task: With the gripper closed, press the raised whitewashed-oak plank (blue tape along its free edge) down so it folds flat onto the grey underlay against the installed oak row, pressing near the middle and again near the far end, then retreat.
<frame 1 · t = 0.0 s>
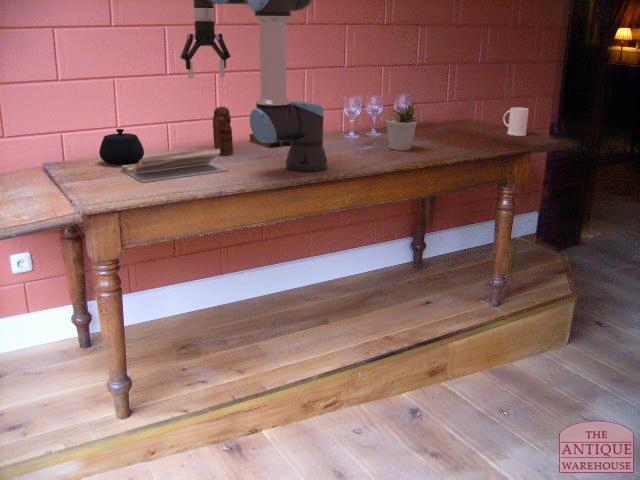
hand: (206, 77, 258), 28 cm above the table, fingers open, 13 cm apart
plank: (177, 160, 226), point 4 cm above the table, hinge at 30.0°
potted plant: (401, 149, 271), on the table
wooden figurine: (223, 153, 259), on the table
mug: (513, 134, 309), on the table
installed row: (166, 167, 234), resting on underlay
book: (283, 143, 283), on the table
underlay: (174, 171, 229), on the table
teapot: (123, 163, 240), on the table
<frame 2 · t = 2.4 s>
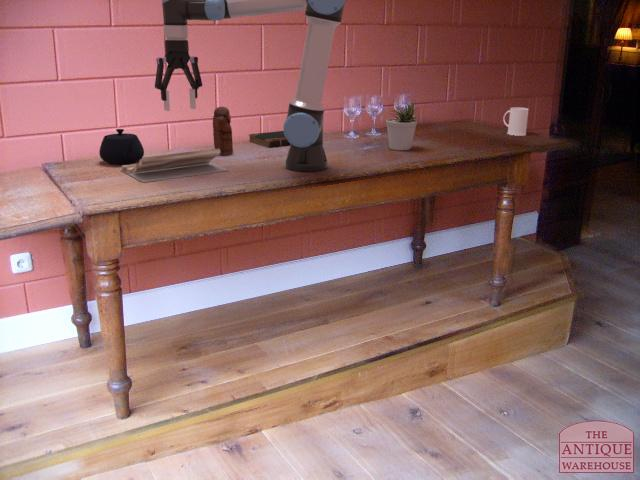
hand: (180, 109, 221), 21 cm above the table, fingers open, 9 cm apart
nothing on the table moved.
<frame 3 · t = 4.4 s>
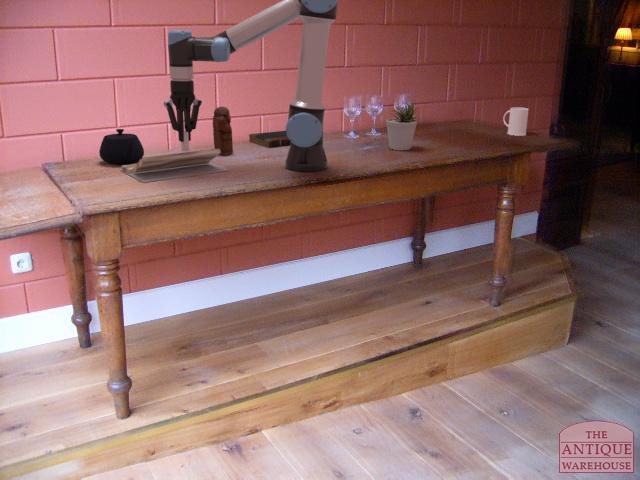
hand: (185, 150, 223), 8 cm above the table, fingers closed
plank: (177, 160, 226), point 4 cm above the table, hinge at 30.0°, touching gripper
everything else where it was.
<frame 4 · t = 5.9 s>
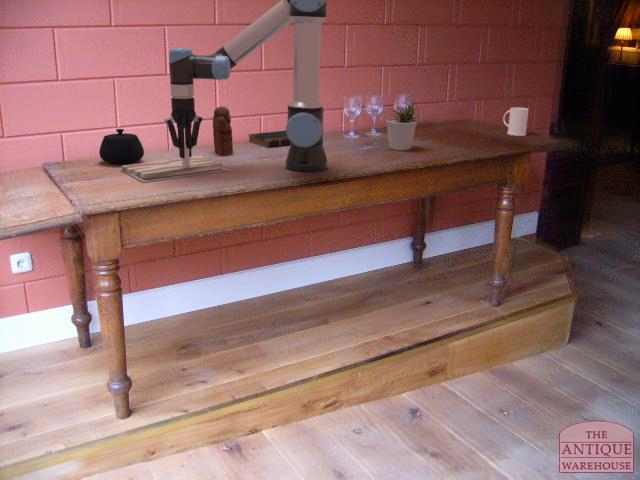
hand: (186, 167, 225), 2 cm above the table, fingers closed
plank: (178, 168, 226), point 1 cm above the table, hinge at 1.5°, touching gripper
everything else where it was.
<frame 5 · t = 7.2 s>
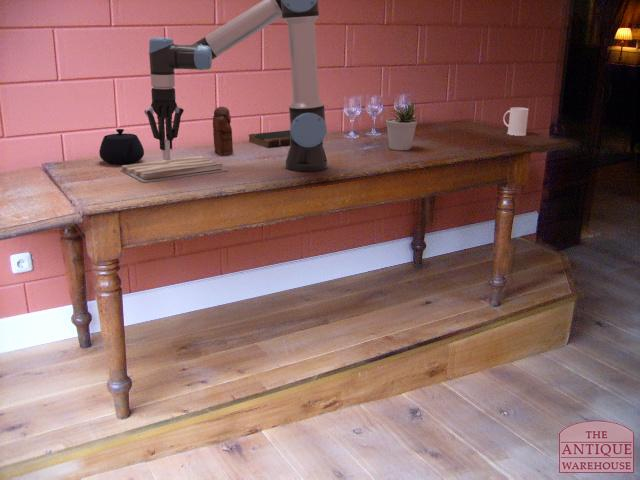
hand: (166, 159, 221), 6 cm above the table, fingers closed
plank: (178, 168, 226), point 1 cm above the table, hinge at 1.5°
everything else where it was.
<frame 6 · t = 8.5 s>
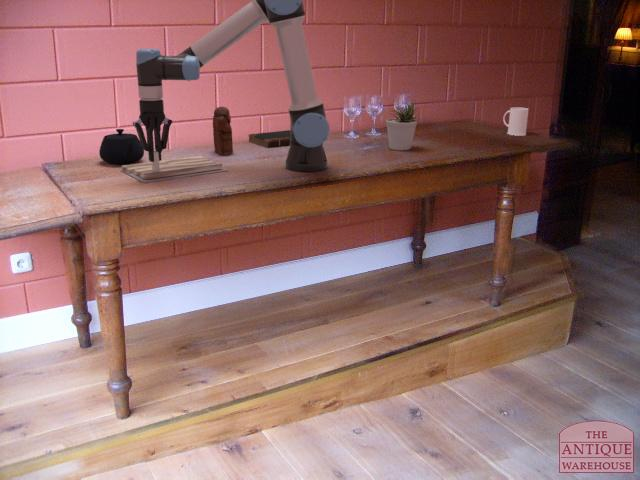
hand: (156, 170, 219), 2 cm above the table, fingers closed
plank: (178, 168, 226), point 1 cm above the table, hinge at 1.5°, touching gripper
everything else where it was.
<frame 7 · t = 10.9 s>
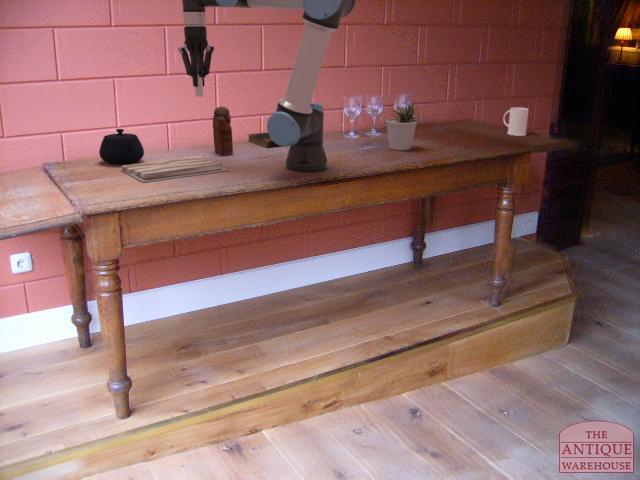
hand: (199, 96, 231), 24 cm above the table, fingers closed
plank: (178, 168, 226), point 1 cm above the table, hinge at 1.5°
everything else where it was.
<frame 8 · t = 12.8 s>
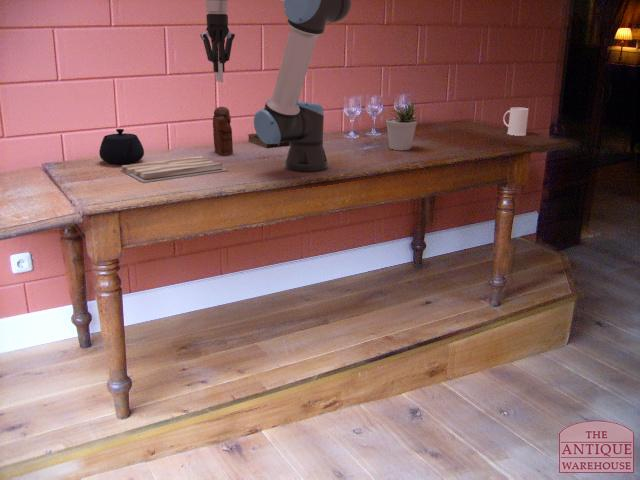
hand: (219, 81, 241), 28 cm above the table, fingers closed
nothing on the table moved.
at the end: plank at +2° (first picture: +30°) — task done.
